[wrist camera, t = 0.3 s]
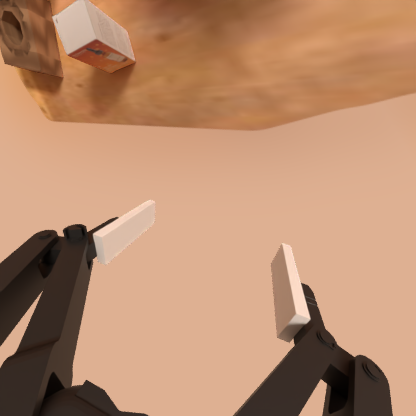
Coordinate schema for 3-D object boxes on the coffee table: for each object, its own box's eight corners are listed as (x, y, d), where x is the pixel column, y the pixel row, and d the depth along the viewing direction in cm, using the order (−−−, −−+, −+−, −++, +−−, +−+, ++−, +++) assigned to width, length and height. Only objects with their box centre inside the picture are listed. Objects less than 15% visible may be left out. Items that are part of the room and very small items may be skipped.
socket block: (10, -4, 39) (-21, -21, 34) (49, 1, 37) (21, -16, 32) (29, 70, 45) (4, 63, 41) (63, 77, 43) (41, 71, 39)
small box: (110, 74, 40) (65, 56, 30) (101, 44, 37) (49, 16, 28) (137, 62, 37) (96, 39, 28) (128, 30, 35) (81, -6, 26)
